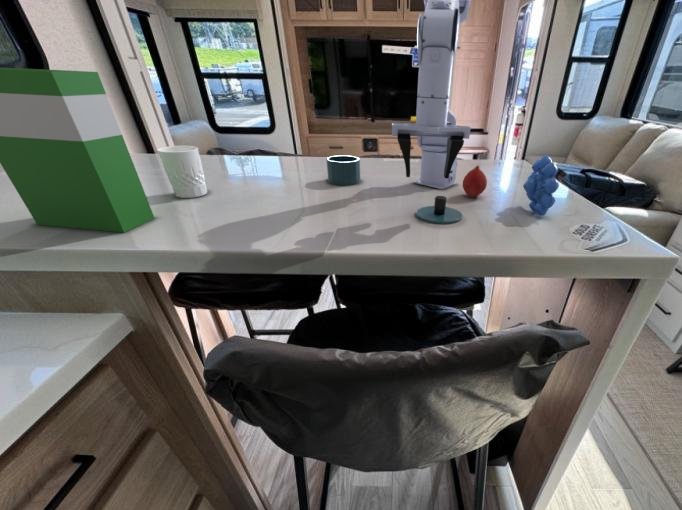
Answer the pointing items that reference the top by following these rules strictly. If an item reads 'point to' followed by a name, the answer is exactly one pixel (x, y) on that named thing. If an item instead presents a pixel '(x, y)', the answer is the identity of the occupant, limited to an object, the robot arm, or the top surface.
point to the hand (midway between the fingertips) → (427, 176)
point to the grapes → (542, 185)
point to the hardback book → (68, 151)
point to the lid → (439, 212)
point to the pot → (343, 170)
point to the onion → (474, 182)
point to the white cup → (184, 170)
